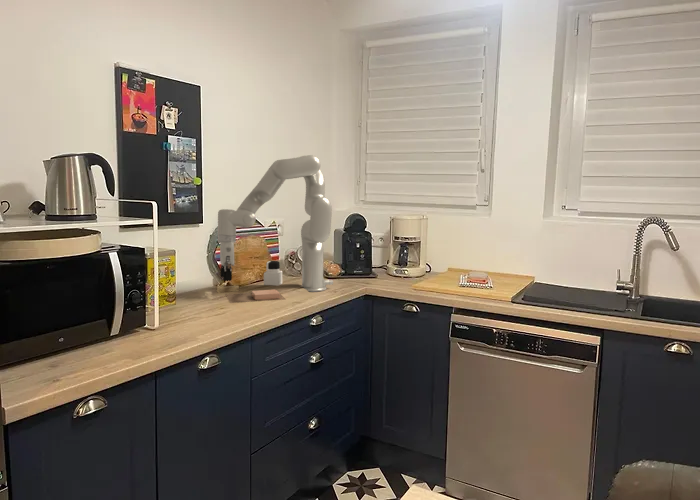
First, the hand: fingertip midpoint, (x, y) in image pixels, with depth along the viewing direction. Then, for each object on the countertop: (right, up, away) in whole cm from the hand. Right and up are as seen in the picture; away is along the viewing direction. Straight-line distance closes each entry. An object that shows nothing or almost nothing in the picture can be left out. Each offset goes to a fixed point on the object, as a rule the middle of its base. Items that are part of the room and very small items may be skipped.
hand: (226, 278), depth 223 cm
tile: (+17, -6, -6) cm, 19 cm away
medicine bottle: (+17, -5, +19) cm, 26 cm away
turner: (+4, -7, +3) cm, 9 cm away
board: (+14, -8, -9) cm, 18 cm away
